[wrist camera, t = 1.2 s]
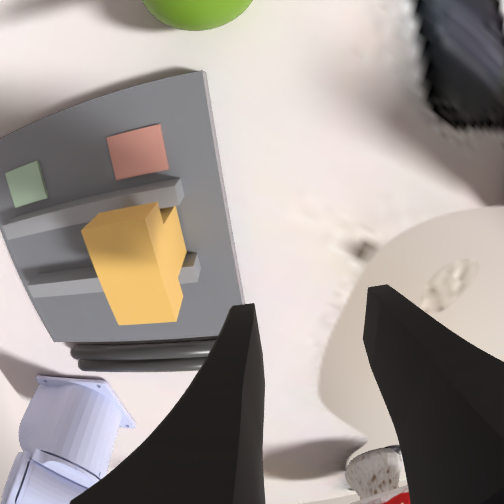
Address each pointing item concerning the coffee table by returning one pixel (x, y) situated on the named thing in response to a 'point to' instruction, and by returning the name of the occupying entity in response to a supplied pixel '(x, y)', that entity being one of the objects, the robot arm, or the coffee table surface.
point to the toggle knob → (138, 261)
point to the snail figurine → (196, 12)
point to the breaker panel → (116, 197)
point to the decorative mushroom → (377, 477)
